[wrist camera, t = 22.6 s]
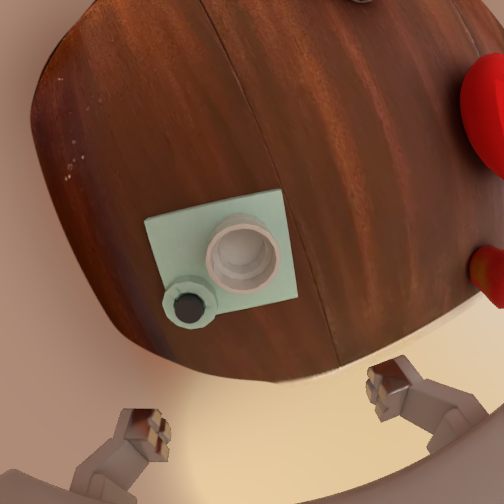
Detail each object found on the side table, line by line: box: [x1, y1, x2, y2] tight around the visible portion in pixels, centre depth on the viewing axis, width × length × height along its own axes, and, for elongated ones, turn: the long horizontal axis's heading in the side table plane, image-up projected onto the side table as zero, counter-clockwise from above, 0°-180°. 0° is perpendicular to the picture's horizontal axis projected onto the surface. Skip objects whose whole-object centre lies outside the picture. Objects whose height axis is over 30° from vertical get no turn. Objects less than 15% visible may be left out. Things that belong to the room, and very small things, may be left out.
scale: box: [144, 188, 298, 329], centre depth 28 cm, size 14×12×3 cm
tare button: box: [175, 293, 203, 324], centre depth 27 cm, size 3×3×2 cm
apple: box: [470, 245, 504, 309], centre depth 28 cm, size 9×8×12 cm
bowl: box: [205, 213, 281, 294], centre depth 25 cm, size 6×6×5 cm
